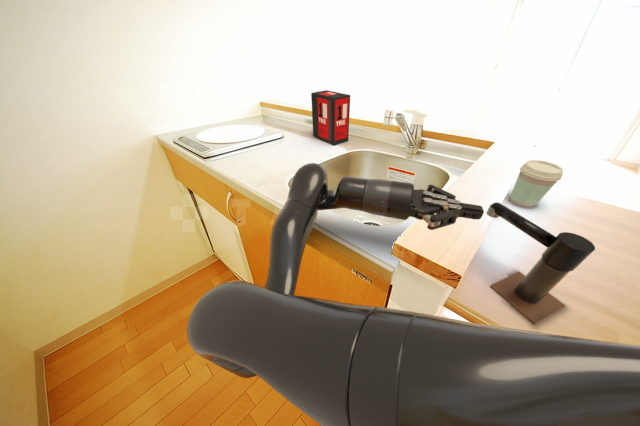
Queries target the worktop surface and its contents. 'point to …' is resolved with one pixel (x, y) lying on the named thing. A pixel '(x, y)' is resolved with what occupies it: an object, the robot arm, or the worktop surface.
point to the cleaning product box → (330, 116)
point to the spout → (548, 240)
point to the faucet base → (532, 291)
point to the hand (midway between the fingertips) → (481, 213)
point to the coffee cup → (534, 182)
